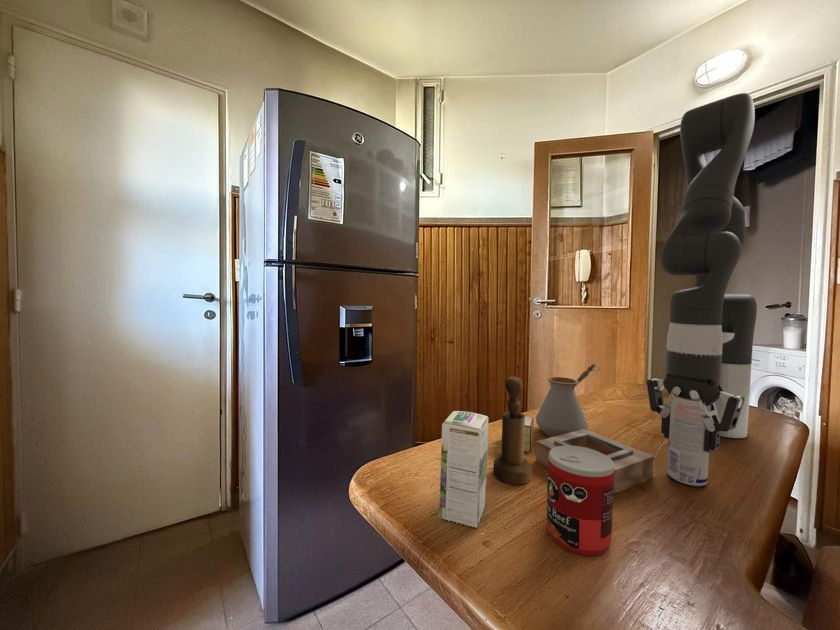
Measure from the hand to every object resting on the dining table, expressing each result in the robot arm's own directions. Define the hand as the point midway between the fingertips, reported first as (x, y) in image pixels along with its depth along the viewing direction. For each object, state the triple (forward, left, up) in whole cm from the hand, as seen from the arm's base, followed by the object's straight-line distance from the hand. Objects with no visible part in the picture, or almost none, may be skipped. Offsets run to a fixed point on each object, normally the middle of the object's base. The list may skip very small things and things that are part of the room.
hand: (688, 443), depth 60 cm
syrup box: (+41, -10, -7) cm, 43 cm away
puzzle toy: (+17, -24, -7) cm, 30 cm away
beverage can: (0, 0, -7) cm, 7 cm away
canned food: (+30, +1, -7) cm, 31 cm away
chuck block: (+12, -10, -6) cm, 17 cm away
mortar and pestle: (+27, -15, -7) cm, 32 cm away
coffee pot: (-1, -25, -7) cm, 26 cm away
